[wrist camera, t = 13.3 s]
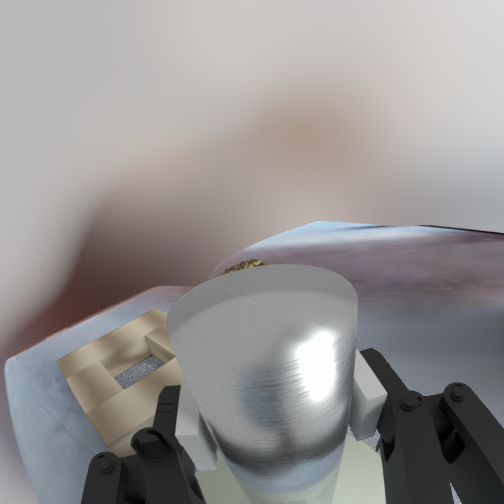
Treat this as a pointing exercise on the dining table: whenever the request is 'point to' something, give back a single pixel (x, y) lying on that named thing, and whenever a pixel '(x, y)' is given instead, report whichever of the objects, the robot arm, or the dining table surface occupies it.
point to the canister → (272, 375)
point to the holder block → (114, 363)
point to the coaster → (347, 488)
